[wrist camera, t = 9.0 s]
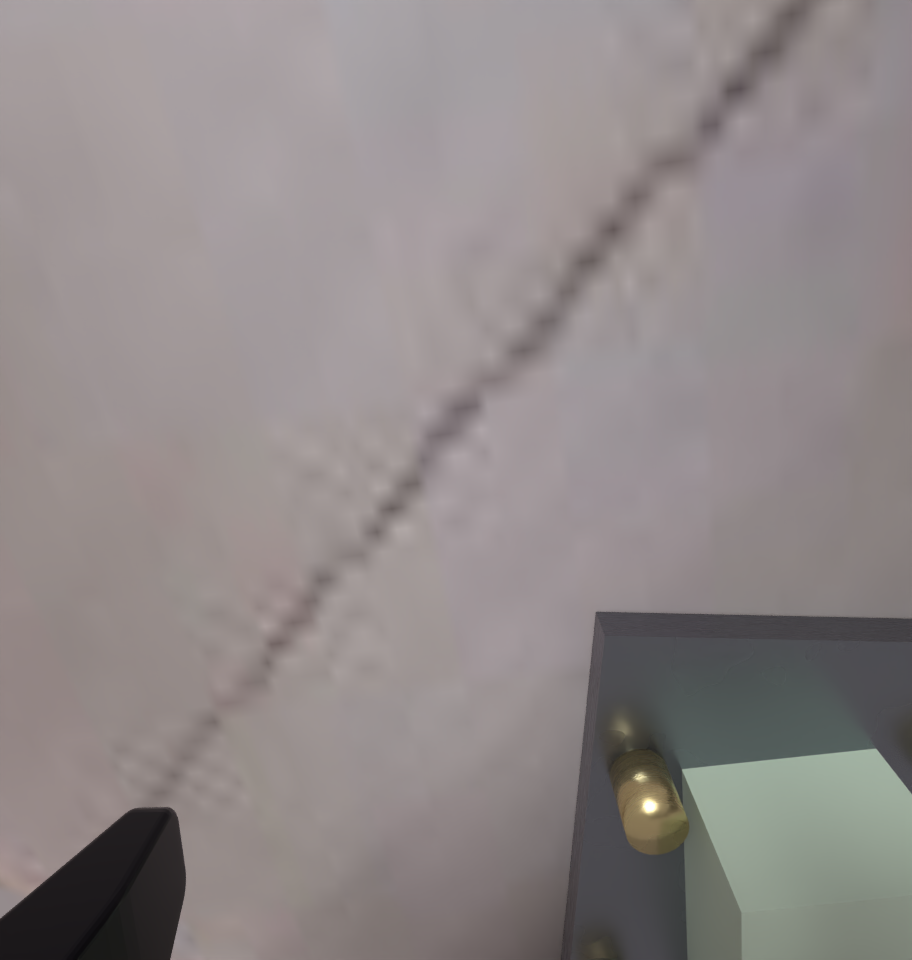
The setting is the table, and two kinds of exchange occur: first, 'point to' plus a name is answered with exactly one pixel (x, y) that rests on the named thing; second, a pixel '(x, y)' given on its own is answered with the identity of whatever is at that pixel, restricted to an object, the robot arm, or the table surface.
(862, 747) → the chassis
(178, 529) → the table surface
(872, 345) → the table surface
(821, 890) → the pale green block
